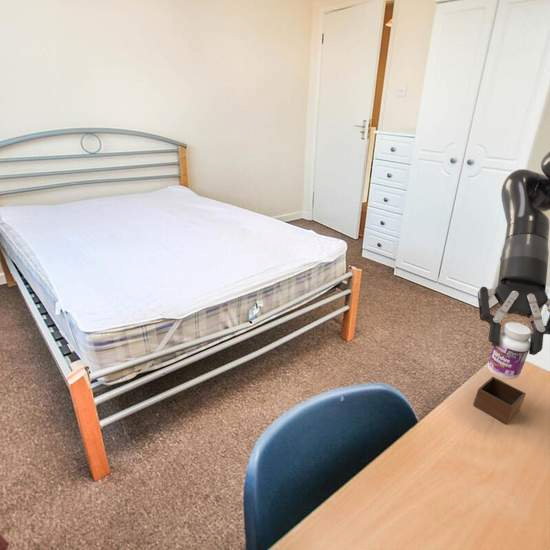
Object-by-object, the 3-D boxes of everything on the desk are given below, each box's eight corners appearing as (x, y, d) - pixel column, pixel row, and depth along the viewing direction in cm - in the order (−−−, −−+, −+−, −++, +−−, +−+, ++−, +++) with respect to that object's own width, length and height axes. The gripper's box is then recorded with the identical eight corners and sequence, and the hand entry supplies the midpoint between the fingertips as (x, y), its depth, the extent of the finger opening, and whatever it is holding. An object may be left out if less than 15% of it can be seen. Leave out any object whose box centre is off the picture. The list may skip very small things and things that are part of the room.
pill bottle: (483, 371, 71) (497, 327, 67) (491, 358, 75) (504, 316, 71) (515, 385, 68) (532, 339, 64) (522, 371, 71) (538, 327, 67)
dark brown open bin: (487, 392, 86) (492, 376, 85) (519, 410, 82) (526, 393, 80) (473, 405, 82) (478, 388, 81) (505, 424, 78) (512, 407, 76)
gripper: (486, 248, 71) (473, 334, 66) (577, 262, 66) (571, 356, 61) (477, 264, 78) (465, 344, 73) (559, 278, 73) (553, 364, 68)
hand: (514, 349), depth 67 cm, fingers closed on pill bottle, 5 cm apart
